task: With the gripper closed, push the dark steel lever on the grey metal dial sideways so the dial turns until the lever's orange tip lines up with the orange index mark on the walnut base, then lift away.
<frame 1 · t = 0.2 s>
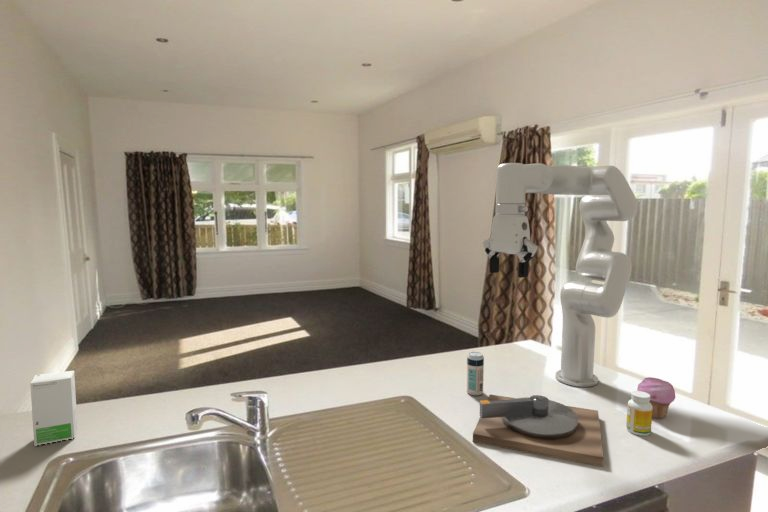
hand: (508, 274, 124), 37 cm above the counter, tool pointing down, fingers open, 9 cm apart
pill bottle: (474, 393, 137), on the counter
skincare box: (57, 437, 113), on the counter
supplement bottle: (638, 431, 114), on the counter
dial base: (538, 429, 115), on the counter
dial: (527, 410, 114), point 5 cm above the counter, hinge at 30.0°
cupcake: (654, 416, 122), on the counter
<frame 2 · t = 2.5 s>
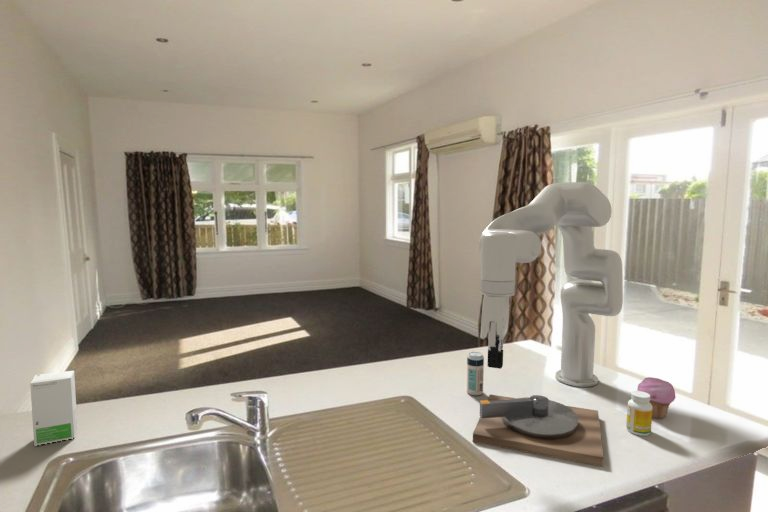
hand: (495, 366, 105), 19 cm above the counter, tool pointing down, fingers closed
nothing on the counter moved.
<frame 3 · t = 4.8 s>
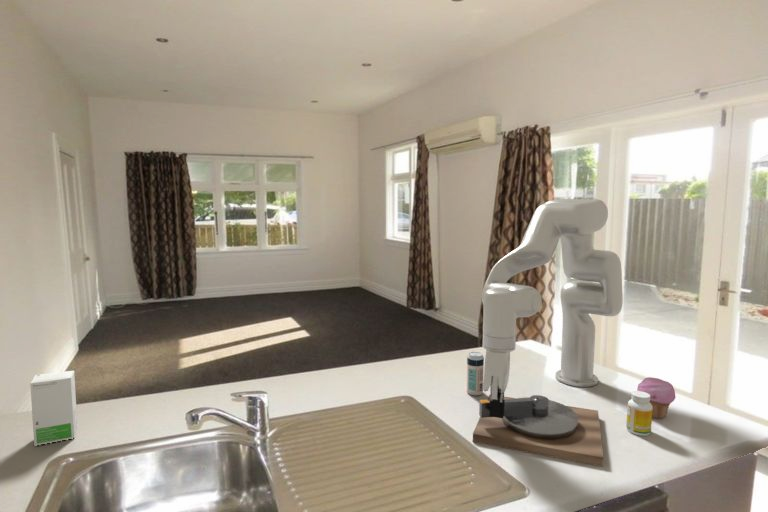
hand: (496, 415, 110), 6 cm above the counter, tool pointing down, fingers closed
dial: (527, 410, 114), point 5 cm above the counter, hinge at 28.6°, touching gripper
everything else where it was.
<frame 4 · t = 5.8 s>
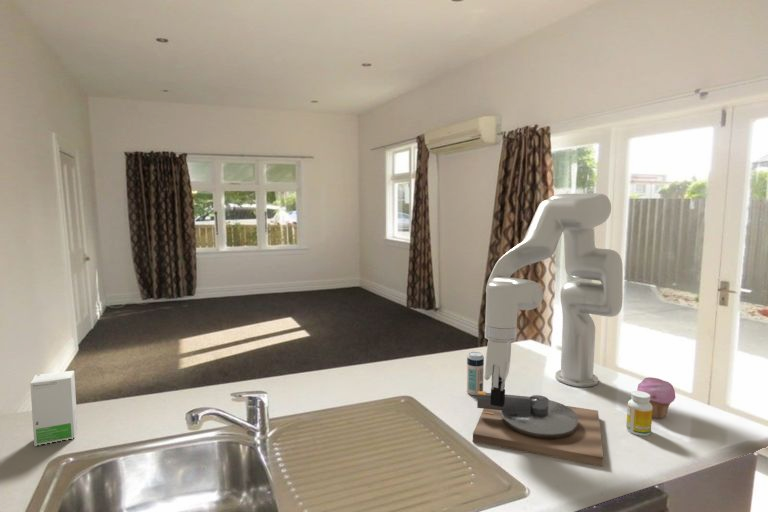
hand: (497, 404, 114), 7 cm above the counter, tool pointing down, fingers closed
dial: (526, 408, 115), point 5 cm above the counter, hinge at 7.9°, touching gripper
everything else where it was.
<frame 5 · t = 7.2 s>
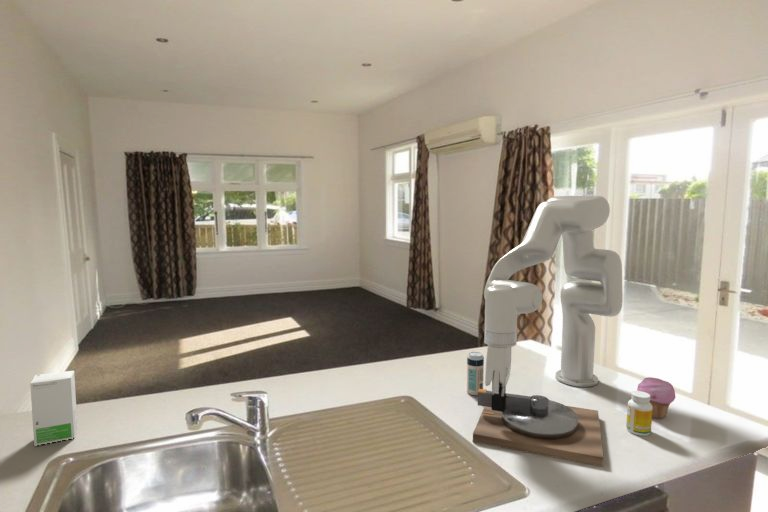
hand: (498, 409, 113), 6 cm above the counter, tool pointing down, fingers closed
dial: (526, 407, 116), point 5 cm above the counter, hinge at 2.0°
everything else where it was.
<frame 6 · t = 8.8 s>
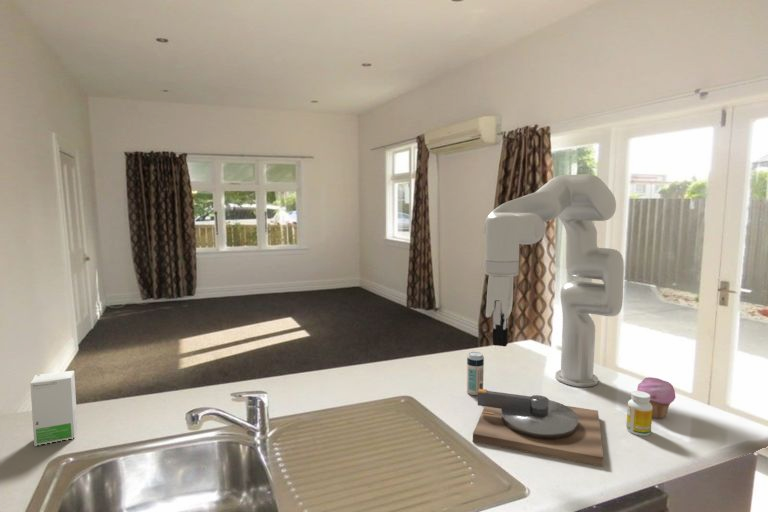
hand: (500, 344, 109), 23 cm above the counter, tool pointing down, fingers closed
nothing on the counter moved.
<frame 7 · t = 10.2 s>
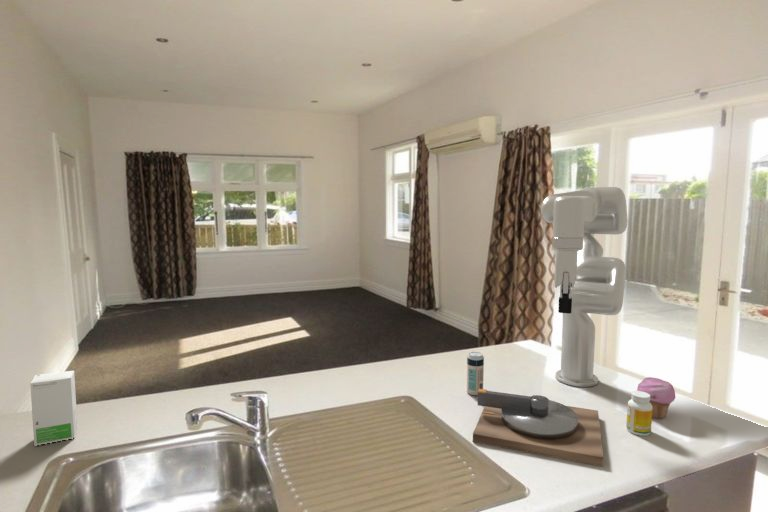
hand: (564, 312, 123), 27 cm above the counter, tool pointing down, fingers closed
nothing on the counter moved.
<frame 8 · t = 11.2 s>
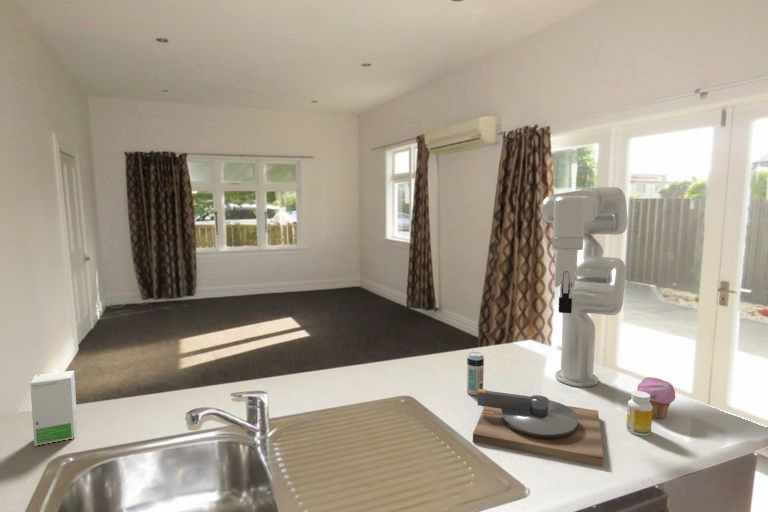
hand: (564, 312, 123), 27 cm above the counter, tool pointing down, fingers closed
nothing on the counter moved.
at the end: dial at +2° (first picture: +30°); pill bottle moved 0.2 cm from its start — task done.
